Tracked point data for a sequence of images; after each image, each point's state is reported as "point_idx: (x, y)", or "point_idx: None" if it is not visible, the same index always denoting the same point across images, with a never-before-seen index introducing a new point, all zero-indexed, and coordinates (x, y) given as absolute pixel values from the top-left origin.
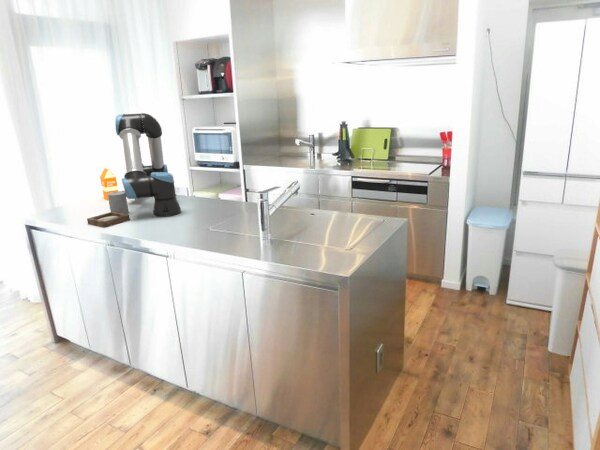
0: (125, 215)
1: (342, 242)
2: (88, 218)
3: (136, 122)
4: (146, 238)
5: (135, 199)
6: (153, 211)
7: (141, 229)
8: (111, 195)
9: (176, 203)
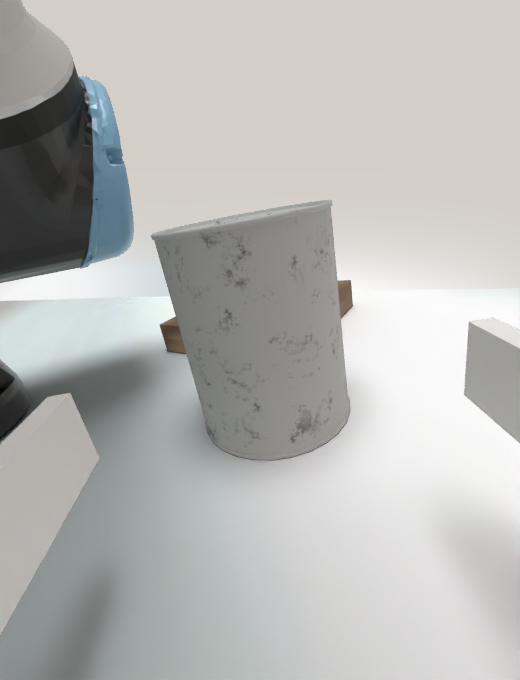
0: (176, 318)
1: None
2: (344, 281)
3: None
4: (108, 299)
5: (90, 450)
6: (17, 378)
7: (116, 316)
8: (257, 213)
9: None
